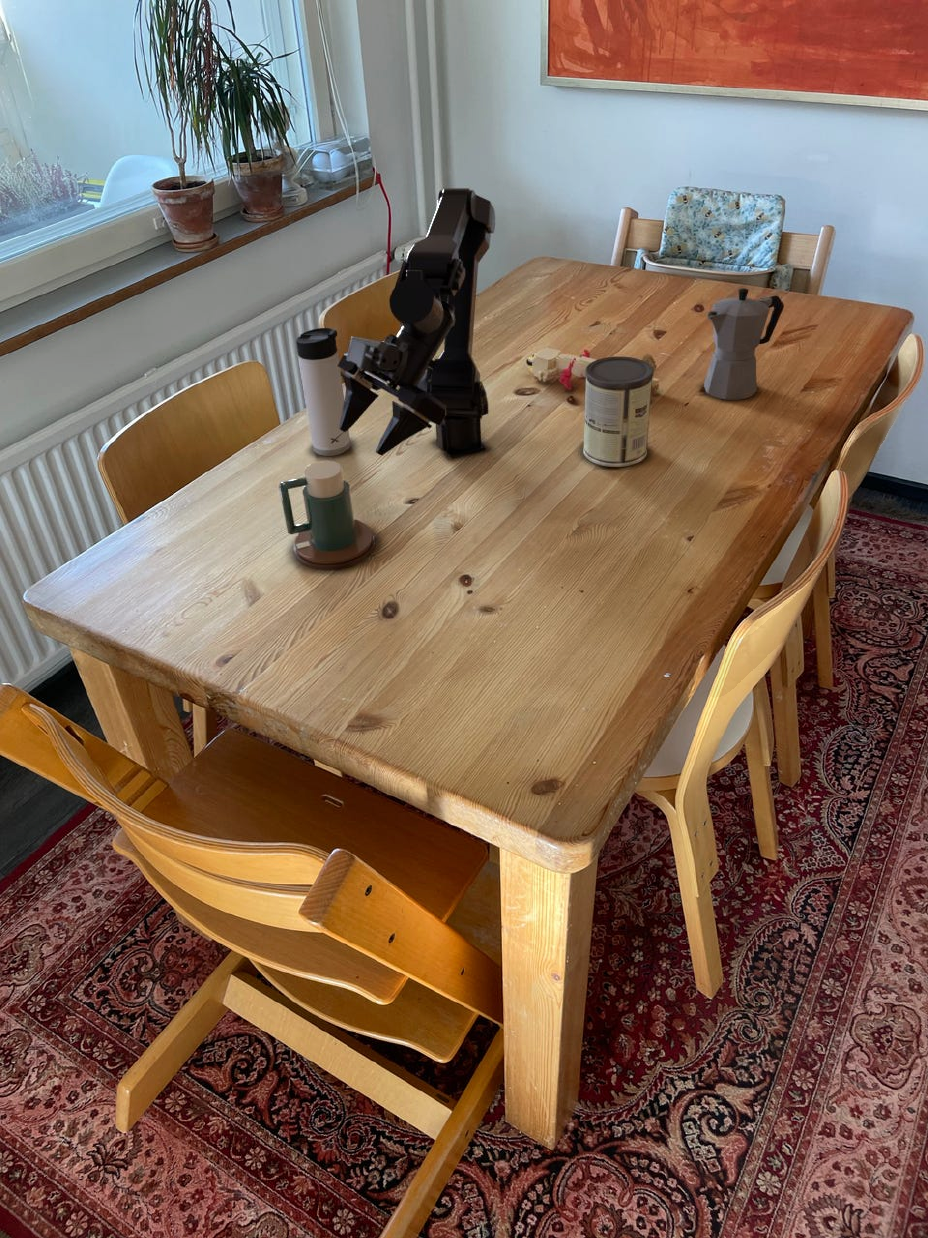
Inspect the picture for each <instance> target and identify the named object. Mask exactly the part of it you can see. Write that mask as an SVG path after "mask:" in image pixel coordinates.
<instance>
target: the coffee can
mask: <svg viewBox="0 0 928 1238" xmlns="http://www.w3.org/2000/svg"><path fill="white" fill-rule="evenodd" d="M654 372H655V371H654V369H653V367H652V366H651V365H650V364H649V363H647V362H645V361H643V360H642V359H640V358H636V357H631V356H608V357H603V358H599V359H595V361H593V362H591V363H590V364H589V365H588V366H587V367H586V369H585V375H586V377H585V396H584V398H585V399H584V428H583V429H584V431H583V432H584V435H583V448H582V453H583V455H584V457H585V458H586V459H587V460H588V461H590V462H591V463H593V464H595V465H598V466H601V467H602V466H603V467H609V468H621V467H622V468H623V467H631V466H634V465H636V464H638V463H641V461H643V460H644V459H645V458H646V457H647V454H648V450H647V449H648V438H649V427H650V426H649V425H650V412H651V402H652V401H651V399H652V394H651V388H652V379H653V378H654V374H655V373H654Z"/></svg>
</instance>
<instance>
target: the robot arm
mask: <svg viewBox="0 0 928 1238" xmlns="http://www.w3.org/2000/svg"><path fill="white" fill-rule="evenodd" d="M433 215H434V216H433V218H432V222H431V223H430V226H429V229H428V232H427V234H426V236H425V238H422V239H421V240H419V241H417V242H415V243H413V245H412V246H411V248H410V249H409V250H408V253H407V255H406V257H405V258H403V260H402V263H401V267H400V269H399V273H398V276H397V278H396V282H395V285H394V288H393V289H392V290H391V293H390V295H389V300H388V302H389V303H388V304H389V305H388V306H389V309H390V312H391V314H392V315H393V316H394V318H395V319H396V320H397V322H399V324H402V325H401V328H400V330H399V331H398V333H397V334H396V335H395V334H393V333H390V334H388V335H387V336H386V337H385V339H384V340H381V341H378V340H375V339H368V338H363V337H358V336H351V338H350V342H349V346H348V349H347V350H348V351H347V353H344V354H343V355H342V357H340V359H339V364H338V365H337V366H338V367H339V368H340V370H342V371H340V374H341V378H342V379H343V382H344V383H343V384H344V385H345V395H344V406H343V411H342V416H341V421H340V426H339V429H340V430H341V431H343V432H346V431H347V430H350V428H352V426H354V425H355V423H356V422H357V421H358V420H359V419H360V418H361V417H362V416H363V414H364V413H365V412H366V411H367V410H368V409H369V408H370V406H371V405H372V404H374V402H375V401H376V400H377V399H378V398H379V396H380V395H379V394H378V393H376V392H378V391H379V390H382V391H385V392H386V393H388V394H390V395H392V396H393V397H395V398H396V399H398V401H399V402H400V403H401V404H403V405H401V404H399V403H397V402H396V401H394V400H392V401H391V404H392V405H391V406H392V416H391V419H390V420H389V423H388V424H387V426H386V429H385V430H384V432H383V434H382V435H381V438H380V440H379V442H378V445H377V447H376V449H375V453H376V454H377V455H379V456H381V457H382V456H384V455H385V454H387V453H388V452H390V451H391V450H392V449H395V448H396V447H397V446H398V445H400V444H401V443H403V442H405V441H406V440H407V439H409V438H411V437H413V436H415V435H416V434H418V433H420V432H421V431H423V430H425V429H432V427H433V424H434V425H435V438H436V439H435V444H436V446H438V447H439V448H440V449H441V451H443V452H444V453H445V455H447V456H448V457H449V458H451V459H452V458H456V457H460V456H465V455H469V454H472V453H475V452H476V453H477V452H480V451H484V450H486V449H487V448H486V447H487V446H486V444H485V443H483V442H482V426H481V420H482V419H483V417H484V416H486V415H488V414H489V400H488V395H487V390H486V387H485V386H484V383H483V382H482V381H481V373H480V371H479V368H478V367H477V365H476V363H475V360H474V359H473V343H474V330H475V329H474V328H475V327H474V326H475V315H476V314H475V312H476V302H477V301H476V299H477V286H478V271H479V264H480V261H481V260H482V259H483V257H484V256H485V255H486V254H487V252H488V250H489V249H490V246H491V236H492V235H491V234H494V233H495V229H496V210H495V208H494V206H493V204H492V202H491V200H488V199H486V198H484V197H482V196H480V195H477V194H476V192H475V190H474V189H470V188H467V187H445V188H444V189H440V190H439V192H438V198H437V200H436V210H435V213H434V214H433ZM440 295H448V298H447V302H445V301H443V300H442V301H441V300H440ZM443 342H444V343H443ZM442 344H443V351H442V352H441V354H440V355H439V357H438V358H435V356H436V355H437V352H438V351H439V349H440V347H441V346H442ZM428 367H429V368H431V369H432V375H431V380H429V381H428V385H427V392H426V391H424V390H422V389H420V388H419V387H417V385H418V383H419V382H420V380H421V378H422V377H423V375H424V373H425V372H427V368H428ZM343 371H344V372H343ZM398 387H399V388H398ZM397 388H398V389H397ZM371 389H372V390H371ZM373 390H374V391H373ZM375 391H376V392H375ZM430 422H431V423H433V424H431V423H430Z"/></svg>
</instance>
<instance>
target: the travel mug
mask: <svg viewBox="0 0 928 1238" xmlns="http://www.w3.org/2000/svg"><path fill="white" fill-rule="evenodd" d="M337 336H338V331H337V330H336V329H333V328H331V327H318V328H313V329H309V330H306V331H304V332H302V333H301V334H299V336H298V337H297V338H295V344H296V350H297V351H296V352H297V358H298V360H297V361H298V365H299V371H300V378H301V385H302V389H303V396H304V402H305V409H306V412H307V414H306V415H307V422H308V426H309V432H310V439H311V444H312V450H313V451H314V453H315V454H317V455H319V456H324V457H335V456H338V455H342V454H344V453H346V452H347V451H348V450H349V449H350V448H351V437H350V431H349V430H350V429H348V430H347V431H346V432H343V431H341V430H340V429H339V426H340V421H341V416H342V411H343V406H344V401H345V395H344V394H345V393H344V387H343V380H342V379H343V378H342V376H341V374H340V372H341V368H339V367H338V366H337V365H338V364H339V362H340V357H339V351H338V347H337V339H336V338H337Z"/></svg>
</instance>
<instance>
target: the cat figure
mask: <svg viewBox="0 0 928 1238" xmlns="http://www.w3.org/2000/svg"><path fill="white" fill-rule="evenodd" d="M579 355H580V356H578V355H574V354H570V353H566V354H565V353H562V352H561V351H560V350H558V349H554V348H550V347H543V348H542V349H541V350H540V351H538V352H535V353H533V354H532V356H529V357H528V358H527V359H526V361H525V363H526V364H524V368H526V370H528V373H530V374H532V375H533V376H534V377H535V378H538V381H543V383H544V382H545V383H546V381H548V380H551V379H553V377H555V376H556V375H557V374H561V376H560V377H559V380H558V382H559V383H561V384H563V385H564V387H565V388H566V389H567V390H572V387H571V385H572V384H571V379H572V376H575V377H578V378H581V379H585V378H586V375H585V369H586V367H587V366H588V365H589V364H590V363H591V362H593V361H595V360H596V358H592V357H591V353H590V352H589V350H588V349H584V350H583V354H579ZM641 360H643V361H645V362H647V363H649V364H650V365H651V366H652V367H653V369H654V372H655V371H657V364H656V360H655V359H654V356H652V354H648V353H646V354H645V355H644V356H642V358H641ZM659 383H660V379H659V378H656V377H653V378H652V388H651V396H656V395H657V393H658V390H659V388H660V384H659Z"/></svg>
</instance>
